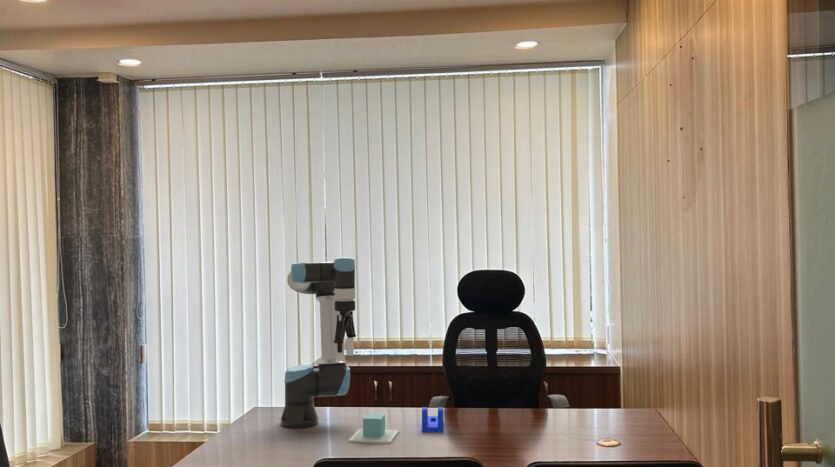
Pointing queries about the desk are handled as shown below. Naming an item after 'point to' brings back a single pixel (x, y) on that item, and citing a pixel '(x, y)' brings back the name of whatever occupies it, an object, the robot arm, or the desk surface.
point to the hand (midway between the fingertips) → (345, 358)
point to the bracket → (432, 421)
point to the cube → (374, 425)
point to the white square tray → (385, 439)
